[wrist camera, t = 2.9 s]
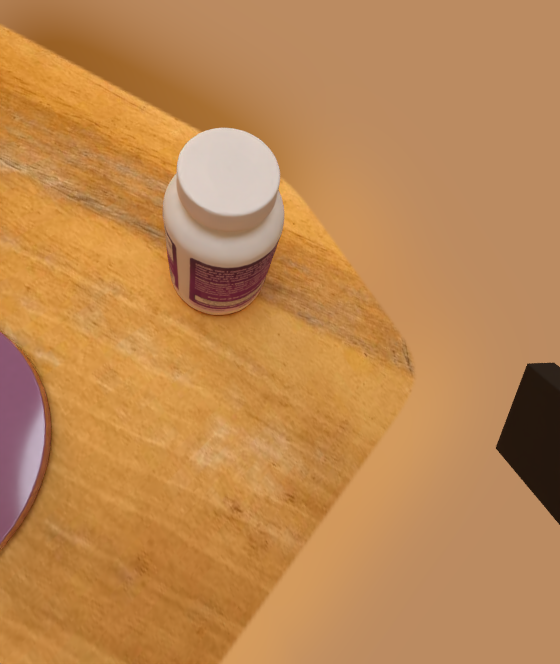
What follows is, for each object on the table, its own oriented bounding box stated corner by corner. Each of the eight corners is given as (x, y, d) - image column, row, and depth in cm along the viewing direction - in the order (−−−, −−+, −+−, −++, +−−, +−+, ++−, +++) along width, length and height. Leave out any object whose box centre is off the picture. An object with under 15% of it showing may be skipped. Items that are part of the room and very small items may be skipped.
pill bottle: (281, 267, 28) (325, 166, 19) (227, 335, 26) (247, 260, 17) (207, 213, 28) (216, 88, 19) (148, 278, 26) (127, 173, 17)
